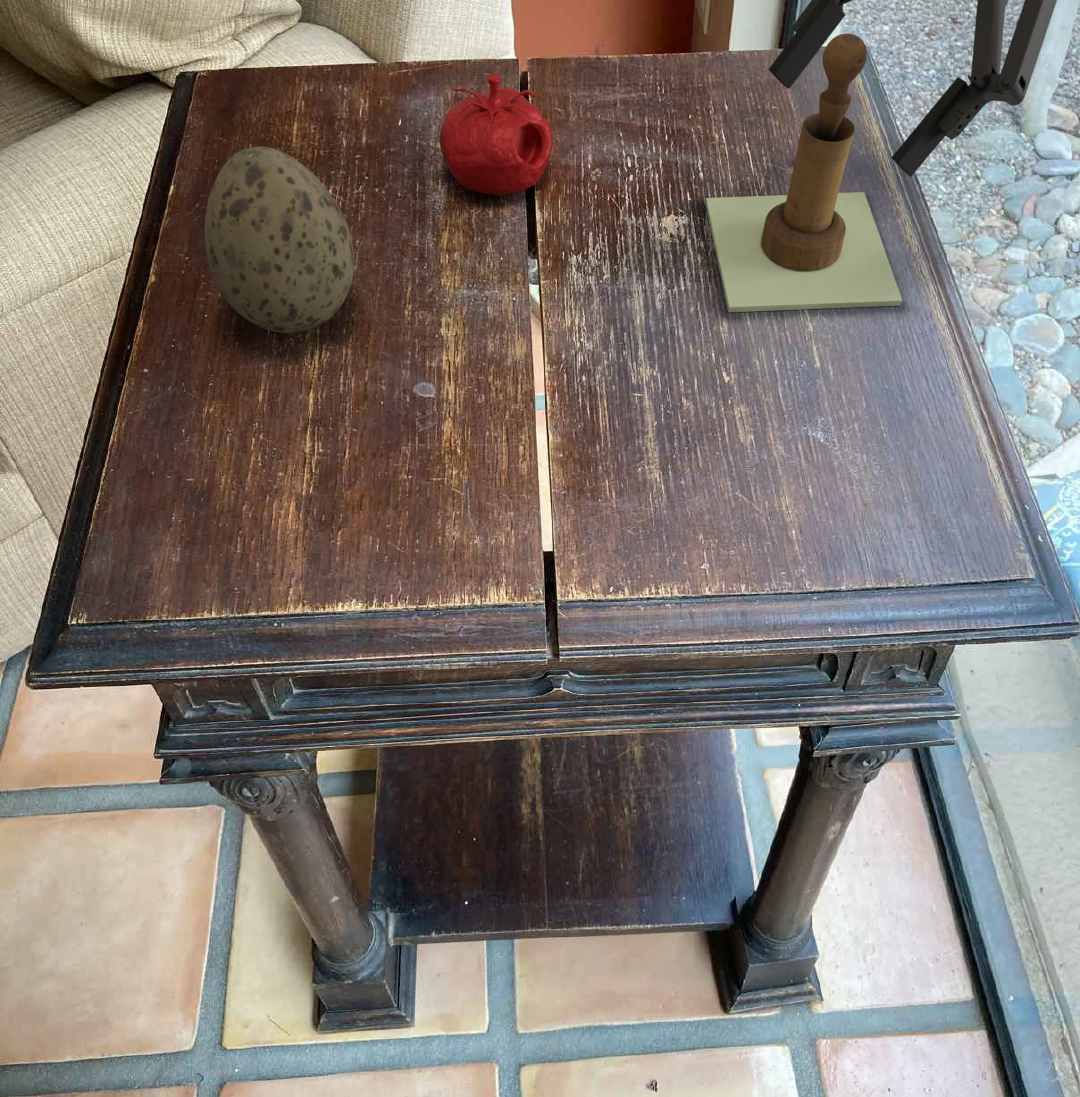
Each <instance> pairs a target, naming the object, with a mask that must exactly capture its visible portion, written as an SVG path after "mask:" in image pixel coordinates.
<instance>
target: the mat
mask: <svg viewBox="0 0 1080 1097" xmlns="http://www.w3.org/2000/svg"><path fill="white" fill-rule="evenodd" d="M787 195H788V194H779V195H778V194H777V195H776V194H775V195H749V196H748V195H747V196H725V197H724V196H722V197H706V198H705V201H704V202H705V203H704V204H705V209H706V213H707V219H708V223H709V228H710V229H709V230H710V232H711V233H710V234H711V237H712V242H713V247H714V251H715V256H716V262H717V266H718V271H719V275H720V276H719V277H720V280H721V285H722V289H723V295H724V299H725V304H726V309H727V312H728V313H745V312H746V313H747V312H748V313H749V312H771V311H774V312H775V311H798V310H799V311H800V310H801V311H803V310H823V309H825V310H826V309H827V310H828V309H846V308H847V309H848V308H849V309H850V308H851V309H852V308H873V307H874V308H875V307H876V308H879V307H900V306H901V305H902V303H903V299H902V296H901V292H900V289H899V287H898V285H897V282H896V279H895V276H894V272H893V270H892V267H891V265H890V264H891V263H890V262H889V258H888V256H887V253H886V251H885V246H884V244H883V241H882V239H881V236H880V233H879V229H878V227H877V225H876V221H875V218H874V216H873V212H872V211H871V207H870V205H869V202H868V199H867V197H866V193H865V192H864V191H858V192H838V196H837V201H836V205H835V209H834V210H835V211H836V212H837V213H838V214H839V215H840V216H841V217H842V219H843V221H844V223H845V226H846V232H845V237H844V241H843V245H842V249H841V253H840V255H839V257H838V259H837V260H836V261H835V262H834V263H833V264H831V265H829V266H827V267H825V268H822V269H818V270H811V271H802V270H795V269H792V268H788V267H784V266H781V265H779V264H777V263H776V262H774V261H773V260H771V259H770V258H769V257H768V256H767V255H766V254H765V252H764V250H763V248H762V244H761V238H762V233H763V228H764V224H765V219H766V216H767V214H768V213H769V211H770V210H771V209H772V208H774V207H775V206H777V205H779V204H781V203H784V202H786V200H787Z"/></svg>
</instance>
